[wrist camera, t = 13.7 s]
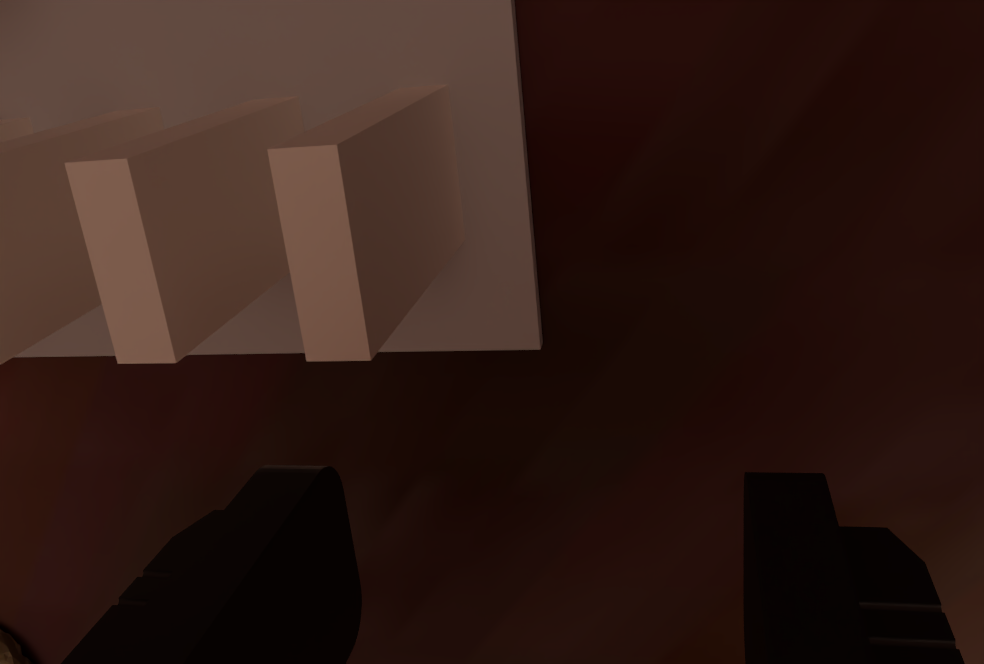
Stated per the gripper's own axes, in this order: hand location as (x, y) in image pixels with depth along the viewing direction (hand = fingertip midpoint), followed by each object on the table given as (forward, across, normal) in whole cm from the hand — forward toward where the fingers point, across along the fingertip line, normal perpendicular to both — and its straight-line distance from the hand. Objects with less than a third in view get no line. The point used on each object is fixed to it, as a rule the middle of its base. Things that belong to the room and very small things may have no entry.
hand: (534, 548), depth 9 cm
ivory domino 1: (+21, +16, 0) cm, 26 cm away
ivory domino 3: (+21, +6, 0) cm, 22 cm away
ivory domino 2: (+21, +12, 0) cm, 24 cm away
